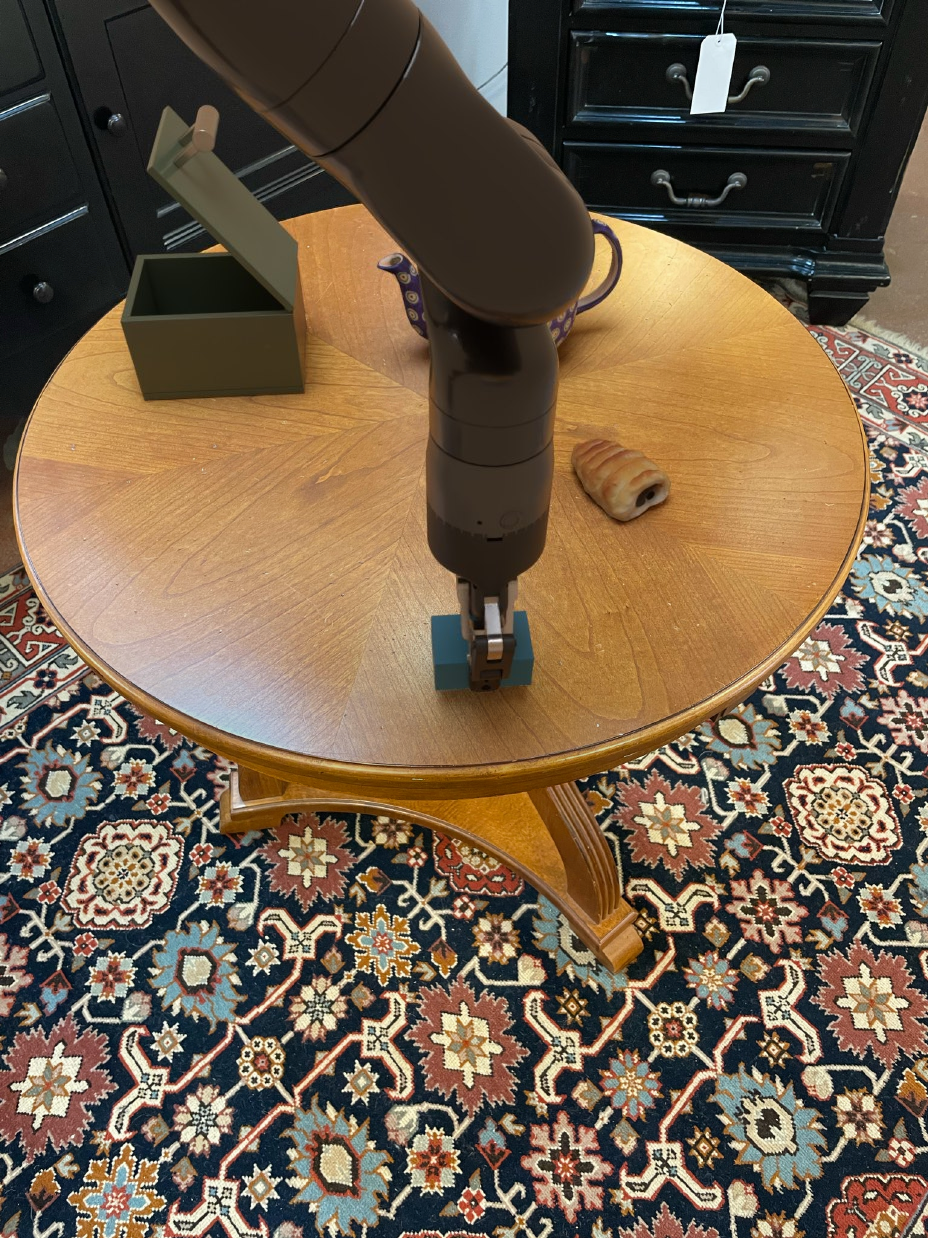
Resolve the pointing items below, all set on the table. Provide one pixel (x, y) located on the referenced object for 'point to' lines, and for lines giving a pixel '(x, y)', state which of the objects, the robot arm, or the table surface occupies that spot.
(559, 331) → the teapot
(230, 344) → the bin
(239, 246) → the lid
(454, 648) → the blue rectangular block
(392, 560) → the table surface
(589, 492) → the pastry
